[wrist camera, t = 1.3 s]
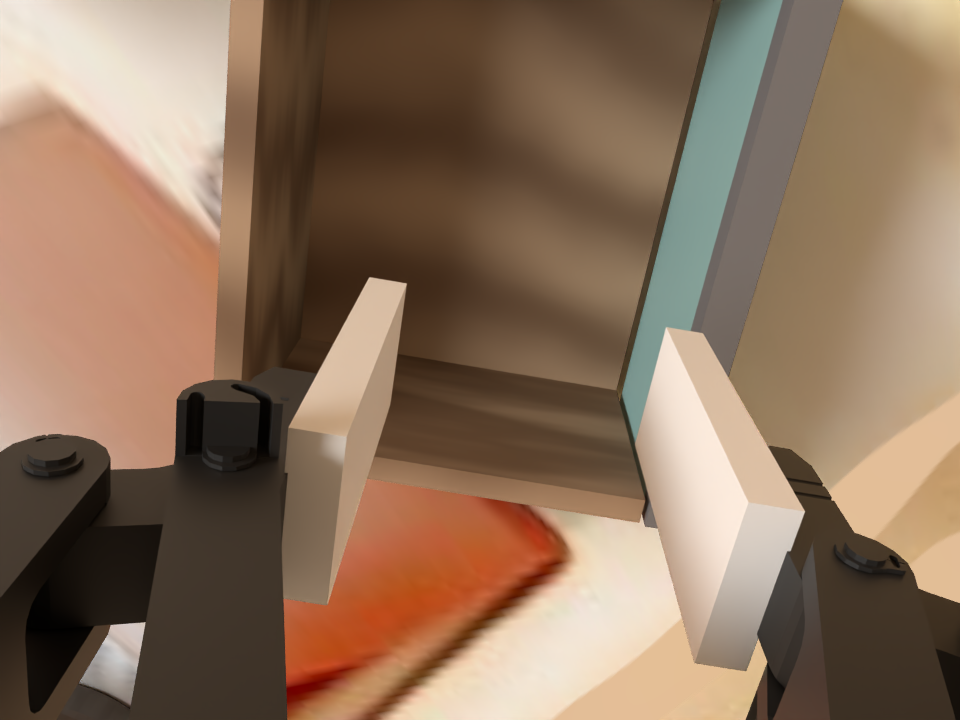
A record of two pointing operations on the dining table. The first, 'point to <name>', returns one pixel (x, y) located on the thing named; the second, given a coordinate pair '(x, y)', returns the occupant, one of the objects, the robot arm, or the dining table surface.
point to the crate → (458, 220)
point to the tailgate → (729, 183)
